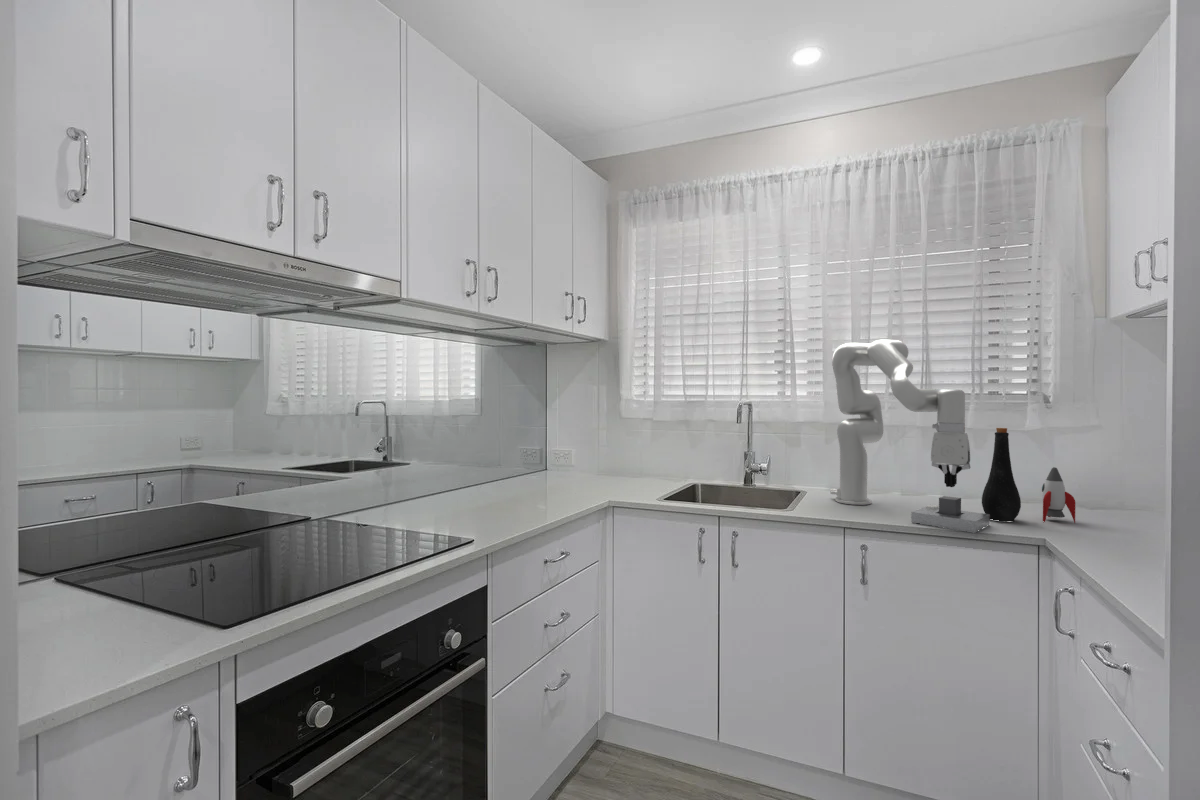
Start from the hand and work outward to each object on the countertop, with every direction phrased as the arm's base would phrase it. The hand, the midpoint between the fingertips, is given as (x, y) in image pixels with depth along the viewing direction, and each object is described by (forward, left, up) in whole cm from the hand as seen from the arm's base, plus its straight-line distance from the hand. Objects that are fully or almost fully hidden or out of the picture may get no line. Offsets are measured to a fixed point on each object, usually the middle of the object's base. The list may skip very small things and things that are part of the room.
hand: (950, 486), depth 186 cm
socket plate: (0, 0, -12) cm, 12 cm away
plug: (0, +1, -12) cm, 12 cm away
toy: (+22, +30, -12) cm, 39 cm away
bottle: (+9, +19, -12) cm, 24 cm away
